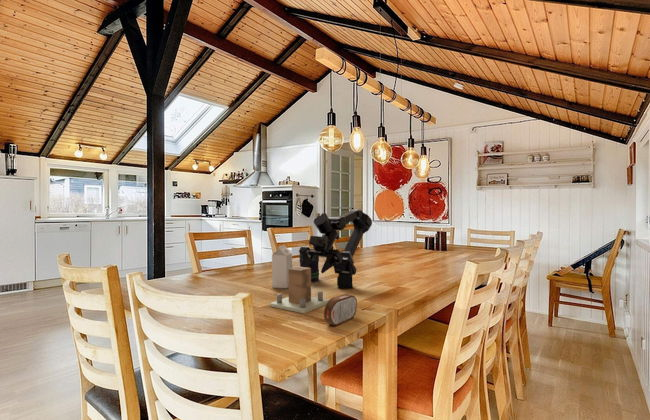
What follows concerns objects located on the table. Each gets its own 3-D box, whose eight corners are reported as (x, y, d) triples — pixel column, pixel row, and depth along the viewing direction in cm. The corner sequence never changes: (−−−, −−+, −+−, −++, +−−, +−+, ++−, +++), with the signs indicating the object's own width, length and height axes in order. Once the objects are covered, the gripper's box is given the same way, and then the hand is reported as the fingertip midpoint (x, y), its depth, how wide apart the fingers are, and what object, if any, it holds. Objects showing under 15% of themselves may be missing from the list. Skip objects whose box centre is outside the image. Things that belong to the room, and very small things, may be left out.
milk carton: (272, 287, 163) (271, 246, 163) (278, 284, 170) (278, 244, 170) (286, 288, 161) (286, 246, 161) (292, 285, 168) (292, 244, 168)
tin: (351, 315, 123) (351, 290, 123) (358, 317, 121) (358, 292, 121) (323, 327, 111) (322, 299, 111) (331, 329, 109) (330, 301, 109)
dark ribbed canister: (316, 282, 173) (316, 251, 173) (297, 282, 175) (296, 251, 175) (321, 278, 183) (321, 249, 182) (302, 277, 185) (302, 248, 184)
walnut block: (298, 298, 140) (298, 266, 140) (311, 300, 137) (310, 267, 136) (288, 302, 135) (288, 268, 135) (301, 304, 132) (301, 270, 131)
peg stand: (296, 296, 147) (296, 286, 147) (329, 302, 138) (329, 291, 138) (269, 306, 134) (269, 295, 134) (304, 313, 125) (304, 301, 125)
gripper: (301, 227, 151) (284, 257, 142) (338, 229, 141) (323, 261, 132) (312, 244, 158) (297, 273, 149) (349, 246, 148) (335, 278, 139)
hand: (312, 271), depth 142 cm, fingers open, 9 cm apart
